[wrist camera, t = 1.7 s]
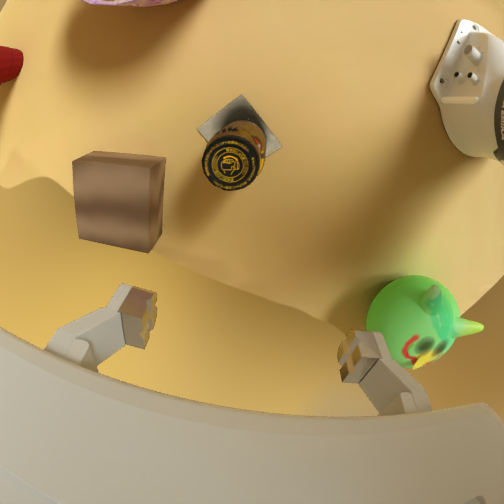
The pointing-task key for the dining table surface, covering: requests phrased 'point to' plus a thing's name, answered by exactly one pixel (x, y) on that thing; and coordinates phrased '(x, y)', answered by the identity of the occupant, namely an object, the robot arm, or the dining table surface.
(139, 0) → the bowl of food
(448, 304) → the toy bird
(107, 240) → the walnut block
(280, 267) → the dining table surface
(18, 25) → the dining table surface
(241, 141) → the condiment
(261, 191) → the dining table surface
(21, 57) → the plastic cup
